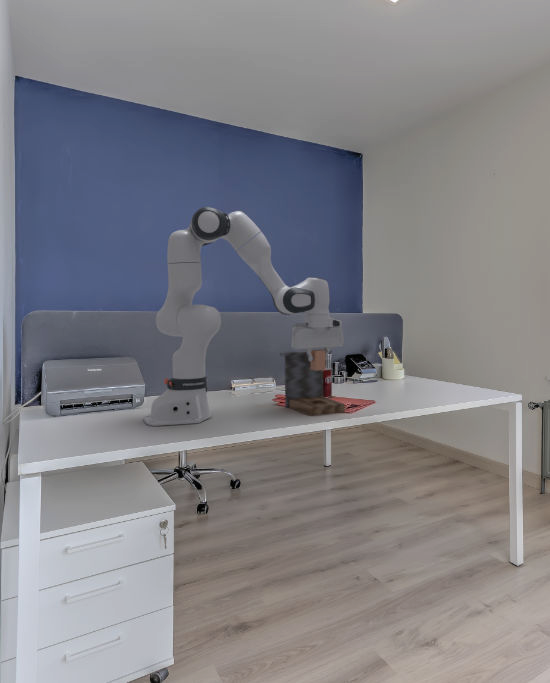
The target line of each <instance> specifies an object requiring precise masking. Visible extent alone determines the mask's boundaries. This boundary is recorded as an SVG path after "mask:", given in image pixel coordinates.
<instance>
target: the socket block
mask: <svg viewBox="0 0 550 683" xmlns="http://www.w3.org/2000/svg"><path fill="white" fill-rule="evenodd" d="M330 354H331V355H332V350H331V349H330V352H329V353H328V355H330ZM279 356H280V357H284V406H285V407H286V408H291V409H293V410H295V411H298V412H300V413H302V414H304V415H308V416H310V417H314V416H321V415H331V414H339V413H346V410H345V408H346V407H345V406H346V404H345V403H344V402H340V401H337V400H335V399H331V398H326V397H323V370H317V371H316V370H312V369H311V364H310V361H309V358H308V355H307V353H306V350H298V351H296V350H295V351H279Z"/></svg>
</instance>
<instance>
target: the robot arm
mask: <svg viewBox="0 0 550 683" xmlns="http://www.w3.org/2000/svg"><path fill="white" fill-rule="evenodd" d="M219 239H223V240H225V241H227V243H229V244H230V245H231V246H232V248H233V249H234V250H235V252H236V253H237V254H238V256H239V257H240V258H241V259H242V260H243V261H244V263H245V264H247V265H248V266H249V267H250V269H251V270H252V271H254V273H255V274H256V275H257V277H258V278H259V279H260V281H261V282H262V283H263V285H264V286H265V287H266V290H267V291H268V292H269V294H270V296H271V298H272V299H271V300H272V302H273V306H274V308H275V310H276V311H277V312H278V313H280V314H281V315H284V316H286V315H287V316H290V315H297V314H301V313H305V314H304V315H305V316H304V317H305V318H304V319H305V320H304V321H305V322H300V323H298V322H296V323H295V324H293V326H292V327H291V341H290V346H291V348H292V349H293V350H305V351H306V353H307V355H308V358H309V361H314V356H312V354H311V351H312V350H314V349H323V350H325V361H327V360H328V355H329V354H328V353H329V352H330V350H331V348H339V347H343V346H344V342H345V341H344V339H345V338H344V330H343V328H342V326H343V322H342V320H338V319H336V318H332V317H330V316H331V315H330V313H331V312H330V309H329V306H330V290H329V289H330V288H329V283H328V281H327V280H326V279H324V278H322V277H316V276H312V277H311V276H310V277H307V278H306V279H305V280H303V281H301V282H300V283H297V284H296V285H293V286H288V285H286V283H285V282H284V281H283V279H282V278H281V276H280V275H279V274H278V273H277V271H276V270H275V267H273V264H272V248H271V245H270V243H269V241H268V239H267V238H266V236H265V234H264V233H263V232H262V231H261V229H260V228H259V227H258V225H257V224H255V222H254V221H253V220H252V219H251V218H250V217H249V216H248V215H247V214H246V213H244V212H243V211H241V210H236V211H233V212H230V213H228V214H227V213H225V212H224V211H221V210H219V209H217V208H214V207H212V206H204V207H203V206H202V207H200V208H199V209H197V210H196V211H195V212H194V213H193V215H192V217H191V220H190V223H189V227H188V228H185V229H178V230H176V231H173V232H172V233H171V234H170V236H169V238H168V244H167V252H166V253H167V257H166V258H167V260H166V261H167V273H168V274H167V276H168V281H167V282H168V289H167V294H166V298H165V301H164V303H163V305H162V307H161V308H160V309H159V310H158V311H157V314H156V316H155V325H156V327H157V330H158V331H159V332H160V333H161V334H164V335H165V336H166V335H167V336H170V337H180V338H182V342H181V344H180V347H179V348H178V349H177V350H175V351H174V353H173V354H172V377H171V378H164V380H163V383H164V384H165V385H167V389H166V390H164V392H162V393H161V394H160V395H159V396H157V398H155V399H154V400H153V401H152V403H151V408H150V414H146V415H145V416H144V417H143V418H144V420H143V421H144V423H145V424H146V425H149V426H152V427H153V426H154V427H158V426H161V427H162V426H174V425H188V424H199V423H201V422H203V421H205V420H208V419H210V418H211V417H212V414H211V411H210V408H209V407H210V406H209V402H208V394H207V393H208V378H207V376H206V358H207V356H206V355H207V351H208V350H207V349H208V347H209V344H210V342H211V340H212V338H213V337H214V336H215V335H216V334H217V333H218V332H219V331H220V328H221V327H222V326H221V325H222V317H221V314H220V312H219V310H218V309H217V308H215V306H209V305H205V304H193V300H194V297H195V295H196V293H197V292H199V291H200V289H201V288H202V286H203V280H202V278H203V277H202V275H203V274H202V260H201V259H202V258H201V251H202V247H204V246H207V245H211V244H212V243H214V242H215V241H218V240H219Z"/></svg>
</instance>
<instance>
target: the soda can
mask: <svg viewBox="0 0 550 683" xmlns="http://www.w3.org/2000/svg"><path fill="white" fill-rule="evenodd" d="M332 374H333V369H332V368H330V367H326V370H323V397H330V398H331V397H332V396H333V375H332Z"/></svg>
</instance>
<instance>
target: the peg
mask: <svg viewBox="0 0 550 683" xmlns="http://www.w3.org/2000/svg"><path fill="white" fill-rule="evenodd" d="M311 354H312V356H314V361H310V364H311V369H312V370H316V371H317V370H326V368H327V367H326V360H325V350H324V349H312V351H311Z"/></svg>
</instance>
